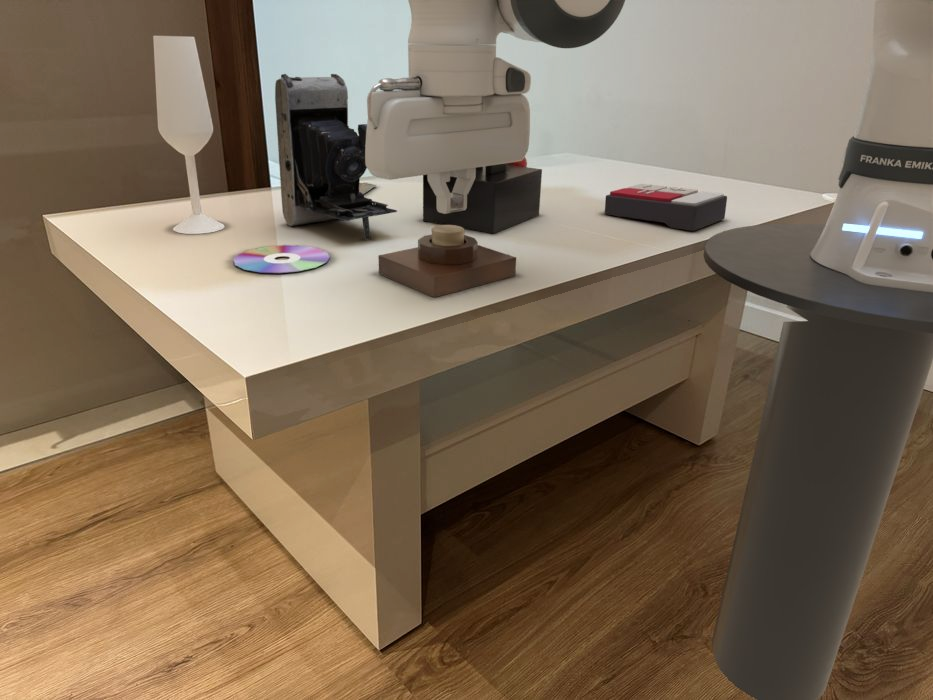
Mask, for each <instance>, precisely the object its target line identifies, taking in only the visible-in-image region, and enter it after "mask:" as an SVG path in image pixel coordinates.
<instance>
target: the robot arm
mask: <svg viewBox="0 0 933 700" xmlns="http://www.w3.org/2000/svg"><path fill="white" fill-rule="evenodd" d="M407 1H408V5H409V9H410V14H411V17H410V18H411V23H410V25H411V26H410V28H409V33H408V38H407V57H408V58H407V59H408V63H407V64H408V77H402V78H401V77H400V78H391V77H386V78H382V79H380V80H378V83H376V84H375V85H373V86H372V88H371V89H370V91H368V93H367V96H366V109H367V110H366V111H367V123H366V124H367V130H366V145H365V164H366V167H367V169H366V170H368V172H369V173H370V174H371V176H372V177H376V178H379V179H383V180H391V181H392V180H399V179H405V178H413V177H419V176H423V175H427V176H428V182H429V184H430V186H431V188H432V190H433V192H434V193H435V195H436V198H437V211H438V212H440V213H443V214H447V213H452V212H457V211H463V210H466V208H467V194H468V193H469V191H470V189H471V187H472V185H473V182H474V180H475V178H476V167H483V166H490V165H497V164H504V163H511V162H518V161H522V160H523V159H524V157H525V158H526V155H527V153H528V152H529V147H530V137H531V136H530V134H531V109H530V103H529V100H528V98H527V97H526V95H524V94H528V92H530V89H531V85H532V84H531V82H532V77H531V74H530V73H529V72H528V71H527V70H525V69H523V68H521V67H518V66H516V65H514V64H512V63H510V62H508V61H507V60H505V59H503V58H502V57H497V38H498V36H499V34H502V33H503V34H509V35H510V36H513V37H515V38H517V39H519V40H523V41H528V42H534V43H543V44H546V45H548V46H550V47H554V48H557V49H576V48H581V47H584V46H587V45H589V44H591V43H593V42H595V41H597V40H598V39H599V38H601V37H602V36H603V35H604V34H605V33H607V32H608V30H609V29H611V27H612V26H613V25H614V23H615V22H616V21H617V19H618V18H619V16H620V14H621V12H622V9H623V7H624V6H625V2H626V0H407ZM873 9H874V10H873V27H872V28H873V30H872V32H873V33H872V46H871V47H872V48H871V58H870V64H869V70H868V74H867V80H866V84H865V88H864V91H863V96H862V101H861V105H860V109H859V113H858V118H857V122H856V125H855V132H854V135H853V136H851V137H850V138H849V140H848V143H847V146H846V147H845V149H844V153H843V157H842V161H841V165H840V170H839V175H838V179H837V180H838V184H837V185H838V191H837V194H836V197H835V199H834V203H833V205H832V209H831V211H830V214H829V216H828V218H827V221H826V223H825V224H824V225H825V227H824V230H823V232H822V234H821V236H820V238H819V239H818V241H817V243H816V245H815V247H814V248H813V250H812V251H811V253H810V256H811V258H812V259H813V260H815V261H816V262H818V263H819V264H821V265H823V266H825V267H828V268H830V269H833V270H836V271H839V272H841V273H844V274H846V275H848V276H850V277H851V278H853V279H855V280H857V281H859V282H861V283H864V284H868V285H875V286H884V287H892V288H900V289H908V290H916V291H924V292H932V293H933V0H874V8H873ZM450 171H454V176H456V177H457V180H456V182H455V185H454V188H453V191H452V193H450V192H449V189H448V187H447V184H446V182H449V181H450Z"/></svg>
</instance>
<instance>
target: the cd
mask: <svg viewBox="0 0 933 700" xmlns="http://www.w3.org/2000/svg"><path fill="white" fill-rule="evenodd" d="M280 257H281V258H287V259H276V258H280ZM330 259H331V256H330V255H329V253H328V252H327V251H326V250H323V249H320V248H318V247H313V246H312V247H311V246H306V245H291V244H290V245H287V244H283V245H271V246H264V247H263V246H262V247H257V248H253V249H249V250H246V251H244V252H241V253H239V254H237V255H236V256H235V257H234V258H233V260H232V261H233V264H234V266H236V267H237V268H240V269H242V270H244V271H249V272H255V273H264V274H285V273H295V272H296V273H297V272H302V271H307V270H311V269H316V268H318V267H320V266H322V265H324V264H326V263H328V261H329V260H330Z"/></svg>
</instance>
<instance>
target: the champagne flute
mask: <svg viewBox="0 0 933 700" xmlns="http://www.w3.org/2000/svg"><path fill="white" fill-rule="evenodd" d="M152 40H153V60H154V77H155V95H156V97H155V99H156V116H157V117H156V118H157V130H158V132H159V134H160V136H161V137H162V138H163V140H164V141H165V142H166V143H167V144H168V145H169V146H171V148H173V149H174V150H175V151H177V152H178V153H180V154H182V156H183V155H184V159H185V167H186V174H187V175H186V176H187V181H188V183H187V184H188V190H189V197H190V205H191V211H192V214H190V215H189V216H188V217H186V218H185V219H184V220H182V221H180V223H178V224H177V225H175V226H174V227H173V229H172V230H173V231H174V232H176V233H179V234H184V235H185V234H187V235H200V234H210V233H214V232H219V231H221V230H224V228H225V224H223V223H221V222H219V221H217V220H216V219H213V218H212V217H210V216H208V215H205V214H204V213H203V212H202V204H201V195H200V189H199V182H198V181H199V179H198V172H197V167H196V166H197V165H196V157H195V155H196V154H198V153H199V152H201V150H203V148H205V146H206V145H207V144H208V142H209V141H210V139H211V137H212V136H213V133H214V124H213V120H212V114H211V110H210V106H209V105H210V104H209V101H208V96H207V91H206V86H205V81H204V77H203V71H202V66H201V62H200V58H199V57H200V56H199V52H198V48H197V44H196V38H195V36H183V35H181V36H179V35H153V36H152Z"/></svg>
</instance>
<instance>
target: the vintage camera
mask: <svg viewBox="0 0 933 700" xmlns="http://www.w3.org/2000/svg"><path fill="white" fill-rule="evenodd" d="M348 95H349V94H348V86H347V84H346V82H345V79H343V78H342V77H341V76H340V75H339V74H337V73H330V76H311V77H310V76H309V77H308V76H307V77H306V76H305V77H301V76H295V77H292V76H289V75H288V74H286V73H283V74H281V76H280V78H278V79H276V80H275V85H274V97H275V98H274V102H275V118H276V134H277V148H278V149H277V150H278V165H279V180H280V196H281V197H280V198H281V210H282V216H283V219H284V221H285V223H286V225H288V226H289V227H293V226H301V225H307V224H314V223H319V222H326V221H332V220H341V221H343V222H349V221H353V220H358V219H361V220H362V228H363V229H362V230H363V233H364V235H363V236H364V240H365V241H368V240H371V233H370V232H371V231H370V221H369V218H371V217H376V216H381V215H382V216H383V215H386V214H387V215H388V214H394V213H398V210H397V209H393V208H389V207H388V206H389V204H387V203H382V202H380V201H375V200H373V199H372V198H368V197H365V195H364V194H362V193H361V192H359V183H361V182H360V180H361V177H362V176H364V174H365V173H366V170H368V169H367V167H366V164H365V146H366V130H367V123H361V124H357V132H356V131H355V129H354V128H350V127H349V106H348V105H349V102H348V99H349V96H348Z"/></svg>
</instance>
